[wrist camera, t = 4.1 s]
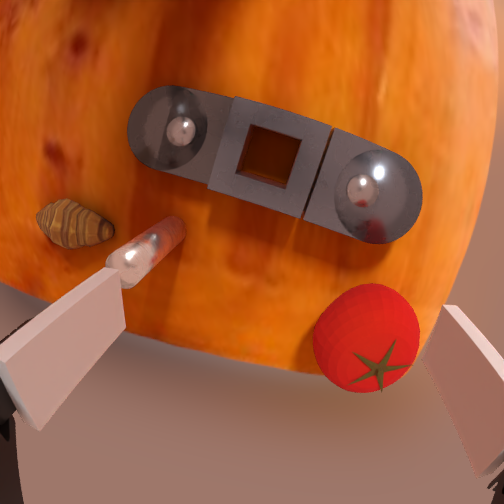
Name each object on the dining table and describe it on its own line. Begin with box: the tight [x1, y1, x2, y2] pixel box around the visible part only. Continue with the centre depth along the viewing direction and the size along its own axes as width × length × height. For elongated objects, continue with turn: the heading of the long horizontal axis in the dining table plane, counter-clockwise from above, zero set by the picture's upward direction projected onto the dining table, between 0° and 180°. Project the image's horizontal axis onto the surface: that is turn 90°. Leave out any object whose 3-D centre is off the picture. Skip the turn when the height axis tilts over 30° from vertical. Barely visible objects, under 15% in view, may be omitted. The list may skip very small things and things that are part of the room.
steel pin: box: [105, 216, 186, 289], centre depth 28 cm, size 3×3×12 cm
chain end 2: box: [207, 96, 422, 244], centre depth 27 cm, size 20×9×5 cm, turn 73°
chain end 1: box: [127, 86, 301, 187], centre depth 28 cm, size 20×9×3 cm, turn 73°
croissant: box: [36, 199, 115, 249], centre depth 33 cm, size 14×7×5 cm, turn 80°
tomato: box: [313, 283, 420, 393], centre depth 30 cm, size 12×12×10 cm
